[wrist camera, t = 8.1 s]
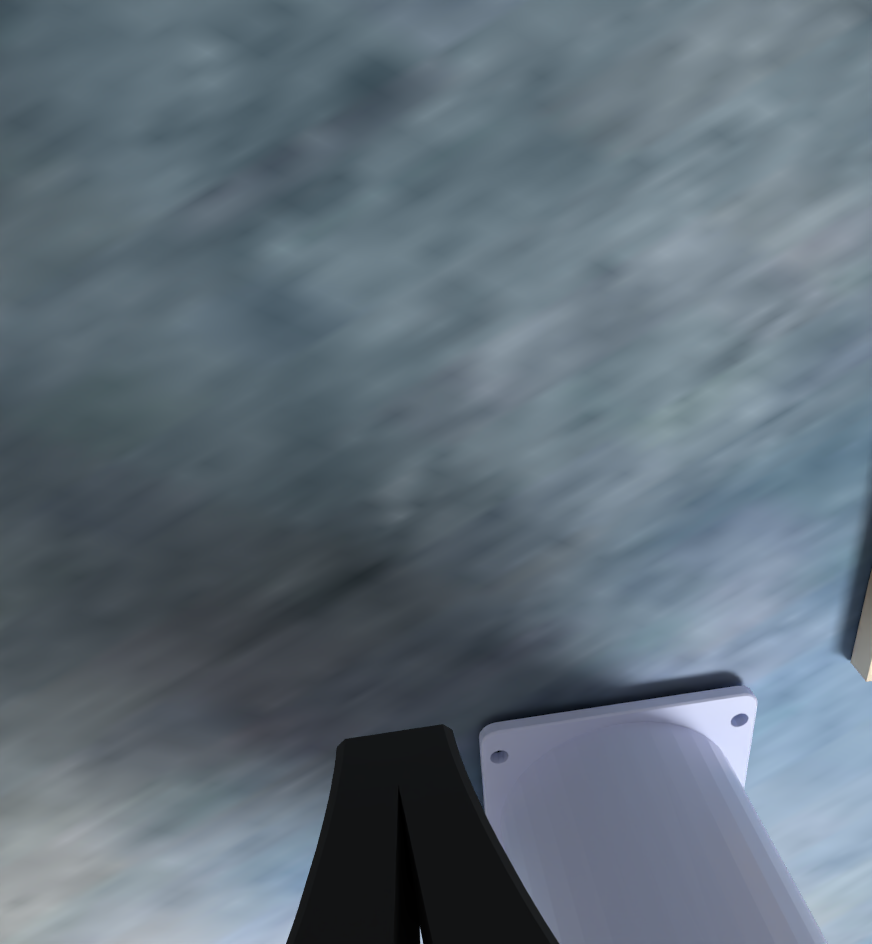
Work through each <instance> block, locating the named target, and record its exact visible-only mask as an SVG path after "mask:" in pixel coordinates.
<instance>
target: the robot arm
mask: <svg viewBox="0 0 872 944" xmlns="http://www.w3.org/2000/svg"><path fill="white" fill-rule="evenodd" d="M757 704H758V703H757V698H756V697H755V695H754V693H753V692H752V691H751V689H750V688H748V687H746V686H733V687H726V688H720V689H713V690H707V691H700V692H693V693H687V694H680V695H673V696H667V697H660V698H654V699H647V700H640V701H634V702H627V703H620V704H614V705H607V706H601V707H594V708H587V709H581V710H574V711H568V712H561V713H554V714H548V715H541V716H534V717H528V718H521V719H515V720H508V721H501V722H495V723H492V724H489V725H487V726H486V727H484V728H483V729H482V731H481V732H480V735H479V745H480V758H481V771H482V784H483V797H484V810H485V812H484V810H483V808H482V806H481V804H480V802H479V800H478V797H477V795H476V793H475V791H474V789H473V786H472V784H471V782H470V779H469V777H468V775H467V772H466V770H465V767H464V765H463V762H462V759H461V757H460V754H459V751H458V748H457V745H456V742H455V738H454V734H453V731H452V730H451V729H450V728H448V727H447V726H445V725H443V724H442V725H435V726H429V727H422V728H415V729H409V730H402V731H395V732H389V733H382V734H376V735H369V736H362V737H356V738H349V739H345V740H344V741H343V742H342V743H341V744H340V745H339V746H338V747H337V751H336V760H335V768H334V774H333V779H332V785H331V790H330V795H329V800H328V804H327V809H326V813H325V817H324V821H323V825H322V829H321V833H320V837H319V840H318V844H317V848H316V852H315V855H314V858H313V861H312V865H311V868H310V871H309V875H308V878H307V881H306V885H305V888H304V891H303V895H302V898H301V901H300V904H299V908H298V911H297V914H296V917H295V920H294V923H293V926H292V929H291V931H290V934H289V937H288V940H287V942H286V944H420V929H421V934H422V939H423V944H828V943H827V941H826V939H825V937H824V935H823V934H822V932H821V930H820V928H819V926H818V924H817V922H816V921H815V919H814V917H813V915H812V913H811V911H810V910H809V908H808V906H807V904H806V902H805V900H804V899H803V897H802V895H801V893H800V891H799V889H798V887H797V886H796V884H795V882H794V880H793V878H792V876H791V875H790V873H789V871H788V869H787V867H786V865H785V864H784V862H783V860H782V858H781V856H780V854H779V853H778V851H777V849H776V847H775V845H774V843H773V841H772V840H771V838H770V836H769V834H768V832H767V830H766V829H765V827H764V825H763V823H762V821H761V819H760V818H759V816H758V814H757V812H756V810H755V808H754V807H753V805H752V803H751V801H750V799H749V797H748V795H747V794H746V792H745V790H744V787H745V780H746V774H747V767H748V761H749V755H750V748H751V742H752V736H753V729H754V723H755V717H756V710H757ZM737 714H738V715H737ZM735 715H736V716H735ZM499 750H500V751H501V752H498V753H494V752H496V751H499Z"/></svg>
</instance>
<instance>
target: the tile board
mask: <svg viewBox="0 0 872 944" xmlns="http://www.w3.org/2000/svg"><path fill="white" fill-rule="evenodd" d="M851 663H852V665H853V666H854V667H855V668H856V670H857V671H858V672H859V673H860V674H861V676H862V677H863V678H864V679H865V681H866V682H867V681H872V570H871V574H870V579H869V583H868V587H867V592H866V596H865V601H864V605H863V609H862V614H861V618H860V623H859V627H858V631H857V636H856V640H855V645H854V649H853V653H852V658H851Z"/></svg>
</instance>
